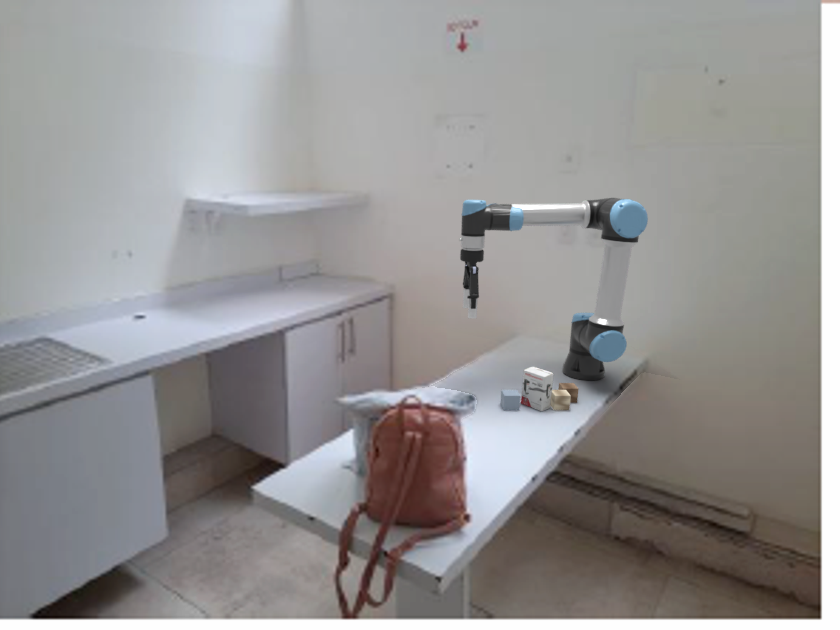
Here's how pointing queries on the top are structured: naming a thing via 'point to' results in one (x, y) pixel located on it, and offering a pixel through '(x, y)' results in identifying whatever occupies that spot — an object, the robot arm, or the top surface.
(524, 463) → the top surface
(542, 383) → the ink box
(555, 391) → the cube maple
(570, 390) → the cube walnut
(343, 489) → the top surface
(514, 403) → the cube slate
